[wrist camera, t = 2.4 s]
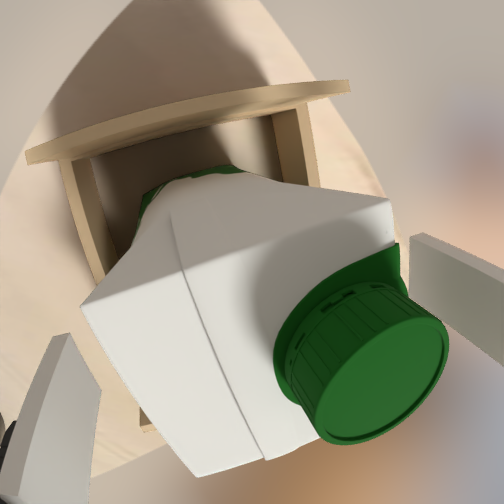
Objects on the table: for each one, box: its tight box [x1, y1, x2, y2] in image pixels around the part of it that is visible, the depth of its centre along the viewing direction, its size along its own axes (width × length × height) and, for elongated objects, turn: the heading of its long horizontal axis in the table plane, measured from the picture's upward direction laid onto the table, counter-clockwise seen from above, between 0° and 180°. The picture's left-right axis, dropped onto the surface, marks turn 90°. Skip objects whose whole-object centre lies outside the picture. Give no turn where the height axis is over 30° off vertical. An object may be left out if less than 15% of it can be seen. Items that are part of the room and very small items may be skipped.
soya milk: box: [80, 165, 449, 478], centre depth 15 cm, size 9×9×20 cm
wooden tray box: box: [25, 80, 350, 432], centre depth 19 cm, size 16×16×12 cm
